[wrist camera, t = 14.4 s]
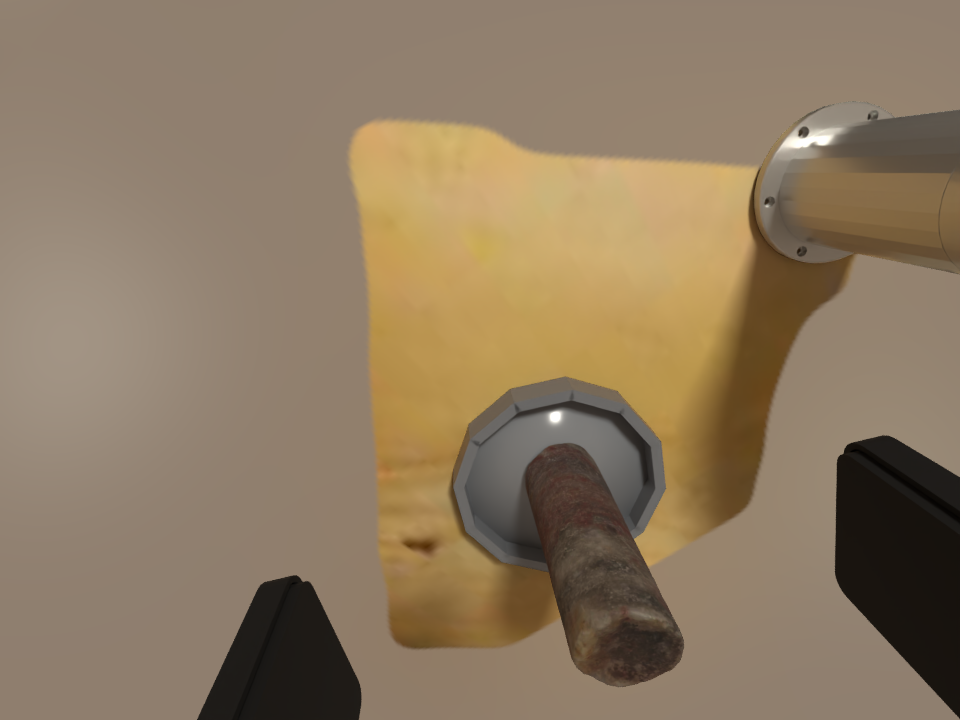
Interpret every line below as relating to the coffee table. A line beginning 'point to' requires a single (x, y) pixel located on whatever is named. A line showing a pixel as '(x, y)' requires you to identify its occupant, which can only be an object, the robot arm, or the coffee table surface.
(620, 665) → the mottled brown cylinder
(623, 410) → the round tray
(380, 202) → the coffee table surface
